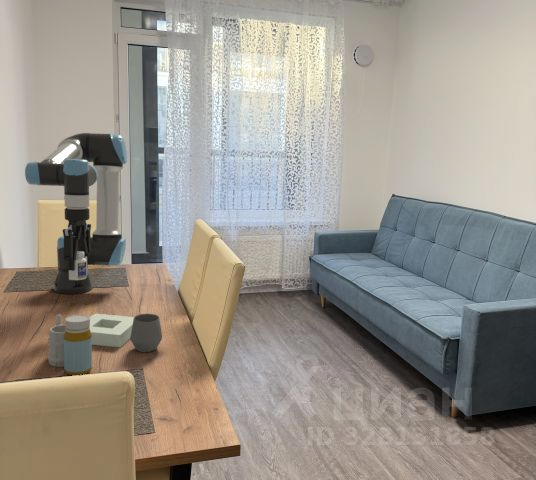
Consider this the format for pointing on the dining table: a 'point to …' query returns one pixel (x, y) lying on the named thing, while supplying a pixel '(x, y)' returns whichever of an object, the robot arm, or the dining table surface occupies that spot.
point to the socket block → (110, 329)
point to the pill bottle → (81, 265)
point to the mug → (56, 343)
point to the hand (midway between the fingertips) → (78, 277)
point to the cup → (146, 332)
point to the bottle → (77, 345)
